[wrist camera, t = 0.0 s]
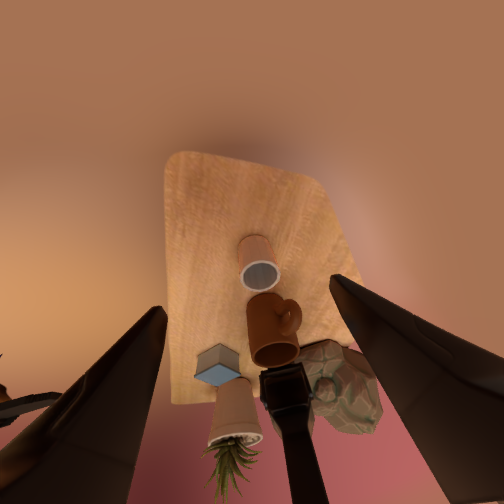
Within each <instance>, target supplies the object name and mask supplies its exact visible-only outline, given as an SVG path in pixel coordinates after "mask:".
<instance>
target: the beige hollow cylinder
mask: <svg viewBox="0 0 504 504" xmlns="http://www.w3.org/2000/svg"><path fill="white" fill-rule="evenodd" d="M238 260H239V274H240V282H241V284H242V285H243V287H244V288H246V289H248V290H250V291H255V292H262V291H266V290H269V289H271V288H272V287H274V286H275V285H276V284H277V283H278V281H279V280H280V274H281V272H280V269H279V266H278V264H277V261H276V258H275V256H274V253H273V250H272V248H271V246H270V243H269V241H268V240H267V239H266V238H264V237H262V236H259V235H252V236H248V237H246V238H245V239H243V240H242V241H241V243H240V244H239V247H238Z"/></svg>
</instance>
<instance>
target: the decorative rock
mask: <svg viewBox="0 0 504 504" xmlns="http://www.w3.org/2000/svg"><path fill="white" fill-rule="evenodd" d="M294 362H295V364H296V363H299V362H302V363H303V366H304V369H305V372H306V375H307V377H308V380H309V383H310V386H311V390H312V393H313V397H314V401H311V403H312V408H313V413H314V415H318V416H324V418H325V419H326V420H327V421H328V422H329V423H330V424H331V425H332V426H333V427H334V428H335V429H336V430H338V431H341V432H345V433H350V434H363V433H369V434H373V433H374V430H375V428H376V425H377V424H378V422H379V420H380V418H381V416H382V414H383V409H382V406H381V403H380V399H379V394H378V388H377V380H376V375H375V373H374V372H373V370H372V368H371V366H370V365H369V363H368V361H367V360H366V358H365V356H364V354H362V353H360V352H358V351H355V350H353V349H349V348H346V347H341V346H340V345H339V344H338V343H335V342H333V341H331V340H327V341H324V342H321V343H317V344H314V345H311V346H308V347H305V348H303V349H300V353H299V355H298V357H297V358H296V359H295V360H294Z"/></svg>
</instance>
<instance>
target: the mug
mask: <svg viewBox="0 0 504 504" xmlns="http://www.w3.org/2000/svg"><path fill="white" fill-rule="evenodd" d="M289 311H290V315H289ZM246 314H247V326H248V336H249V346H250V352H251V358H252V361H253V362H254V363H255V364H256V365H258V366H260V367H265V368H275V367H280V366H284V365H286V364H289V363H291V362H292V361H294V360H295V359H296V358H297V357H298V355H299V353H300V347H299V344H298V339H297V336H296V333H295V332H296V331H297V330H298V329H299V327H300V325H301V322H302V311H301V308H300V306H299V304H298V303H297V302H296V301H294V300H292V299H287V300H285V301H284V300H283V299H282V298H281V297H280V296H278V295H276V294H271V293H266V294H261V295H258V296H256V297H254V298H253V299H252V300H251V301H250V302H249V303H248V305H247V310H246Z"/></svg>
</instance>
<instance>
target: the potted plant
mask: <svg viewBox="0 0 504 504" xmlns="http://www.w3.org/2000/svg"><path fill="white" fill-rule="evenodd" d="M262 439H263V435H262V430H261V427H260V425H259V420H258V416H257V411H256V406H255V402H254V397H253V393H252V388H251V385H250V382H249V381H248V380H246V379H244V378H234V379H232V380H230V381H228V382H226V383H224V384H222V385H220V386H219V389H218V393H217V398H216V404H215V410H214V415H213V422H212V427H211V432H210V435H209V440H208V446H209V447H208V448H207V449H205V450H204V451H206V450H208V449H210V448H212V449H210V450H209V451H207V452H206V453H205V454H207V453H208V452H210V451H213V450H219V452H218V453H217V454H216V455H215V456H214V457H215V459H217V461H218V459H219V461H218V464H216V469H215V470H214V473H213V474H212V476H211V478H210V480H209V481H208V483H209V482H210V481H211V480H212V478H213V477H214V475H215V474H216V481H217V490H216V494H215V504H216V500H217V496H218V493H219V488H220V485H221V495H222V494H223V503H224V491H225V490H226V504H227V494H228V477H229V473H230V477H231V481H232V484H233V482H234V484H233V488H234V485H235V487H236V489H237V491H238V492H239V490H238V488H237V485H236V481H235V478H234V475H233V472H234V473H236V474H237V475H238V476H240V477H241V478H243V479H245V480H246V481H248V480H247V479H246V478H245V477H244V476H243V475H242V473H241V472H240V470H239V468H238V466H237V464H236V461H237V462H238V463H239V464H240V465H242V466H243V467H245V468H248V469H251V468H249V467H247V466H245V465H244V464H243V463H245V464H252V463H255V462H257V460H256V461H250V460H252V459H249V460H247V459H244V458H242V457H241V456H240V455H242V456H244V457H248V456H255V455H257V454H258V453H262V452H260V451H252V450H250V449H248V448H246V447H249V446H252V445H254V444H257V443H258V442H260V441H261V440H262ZM242 448H244V449H246V450H247V451H250V452H253V453H256V454H247V453H246V452H245V451H243V449H242ZM238 453H239V454H240V455H239V454H238ZM205 454H203V455H202V457H203V456H204V455H205ZM219 456H220V458H219ZM202 457H201V458H202ZM218 474H220V476H219V480H218ZM248 482H249V481H248ZM208 483H207V484H206V486H207V485H208ZM206 486H205V487H206ZM205 487H204V488H205ZM239 493H240V492H239ZM240 495H241V493H240ZM241 496H242V495H241Z"/></svg>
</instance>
